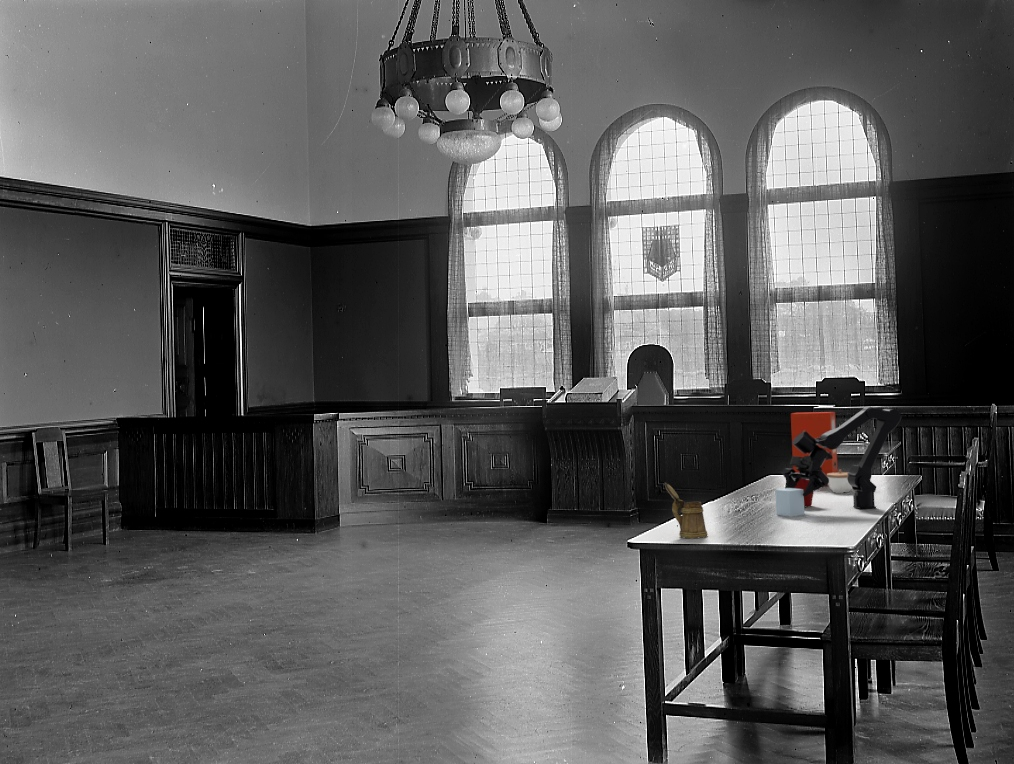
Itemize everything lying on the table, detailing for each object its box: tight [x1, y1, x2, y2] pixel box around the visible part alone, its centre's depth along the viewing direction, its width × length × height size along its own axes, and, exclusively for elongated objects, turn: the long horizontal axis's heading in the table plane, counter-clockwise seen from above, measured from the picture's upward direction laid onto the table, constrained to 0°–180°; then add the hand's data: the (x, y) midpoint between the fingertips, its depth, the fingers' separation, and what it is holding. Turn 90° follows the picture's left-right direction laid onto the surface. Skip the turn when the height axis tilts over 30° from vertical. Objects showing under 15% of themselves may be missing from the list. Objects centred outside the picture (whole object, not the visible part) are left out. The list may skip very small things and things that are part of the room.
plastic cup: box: [794, 479, 814, 508], centre depth 417 cm, size 11×11×12 cm
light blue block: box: [774, 487, 805, 518], centre depth 395 cm, size 7×7×10 cm
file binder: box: [790, 411, 839, 487], centre depth 480 cm, size 8×17×32 cm, turn 57°
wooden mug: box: [664, 482, 708, 539], centre depth 361 cm, size 9×14×18 cm, turn 69°
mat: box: [791, 514, 840, 523], centre depth 383 cm, size 12×12×1 cm
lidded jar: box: [827, 469, 853, 494], centre depth 453 cm, size 11×11×9 cm
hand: (794, 495), depth 396 cm, fingers open, 9 cm apart
